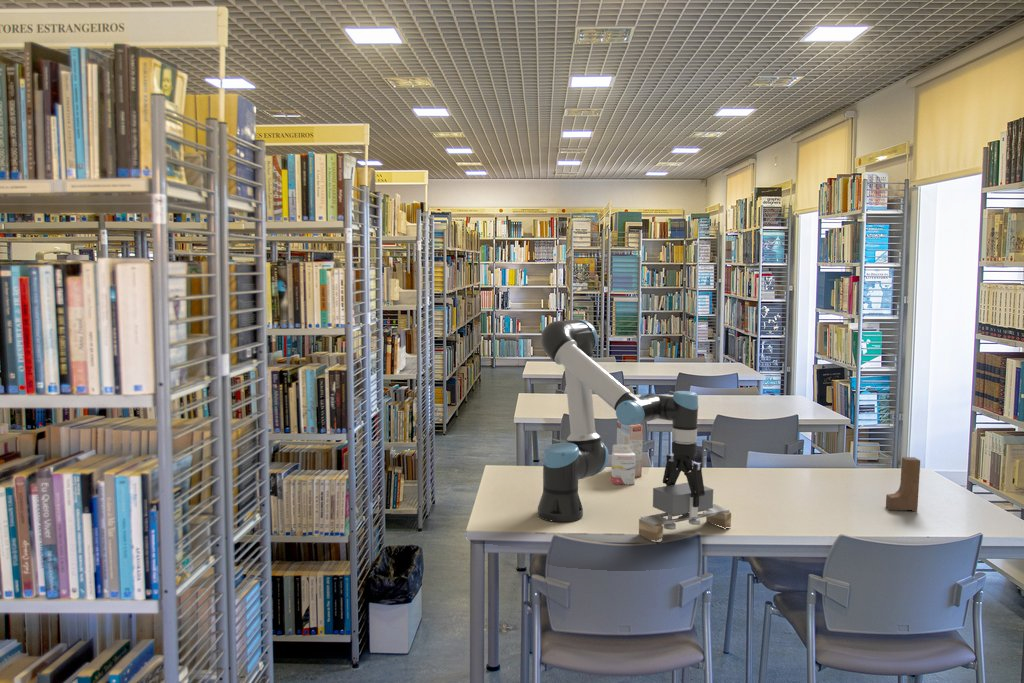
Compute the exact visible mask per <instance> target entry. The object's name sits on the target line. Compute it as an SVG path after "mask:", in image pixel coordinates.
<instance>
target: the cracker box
mask: <svg viewBox="0 0 1024 683" xmlns="http://www.w3.org/2000/svg"><path fill="white" fill-rule="evenodd" d="M616 424H617V427H616V445H619V444H620V445H633V453H634V454H635V455H636V461H635V478H640V477H641V478H642V472H643V471H642V469H643V441H644V440H643V439H644V435H643V434H644V425H642V424H641V423H640V424H637V425H630V426H627V425H623V424H621V423H620V422H619V421H618V419H617V422H616ZM619 449H627V448H626V447H620V448H619Z"/></svg>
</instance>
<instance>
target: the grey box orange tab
mask: <svg viewBox="0 0 1024 683" xmlns="http://www.w3.org/2000/svg"><path fill="white" fill-rule="evenodd" d="M675 484H676V485H669V486H666V485H664V486H657V487H653V488H652V508H655V509H657V510H659V511H660V512H662V513H668V516H667V519H668V520H670V519H673V516H672V515H678V514H683V513H689V508H690V496H691V495H692V494H691V491H690V487H689V484H688V482H684V483H683V482H682V483H678V484H677V483H675ZM704 492H705V495H704V496H700V497H699V507H698V511H700V510H705V509H711V508H713V504H714V489H713V488H710V487H708V486H705V485H704ZM695 493H696V491H695ZM688 523H689V524H690V525H695V526H698V525H700V524H701V518H696V519H691V520H688ZM676 525H677V524H676V522H675V523H670V524H665V525H663V529H665V530H671V531H673V530H675V529H676V527H677V526H676Z"/></svg>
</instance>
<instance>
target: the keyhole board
mask: <svg viewBox="0 0 1024 683" xmlns="http://www.w3.org/2000/svg"><path fill="white" fill-rule="evenodd" d="M700 512H702V513H700ZM666 517H668V513H666V512H662V513H656V514H651V515H645V516H640V518H638V535H639V534H640V535H642V536H643V537H642V536H641V537H642V538H644V537H645V539H646V540H648V539H649V541H650V540H655V541H657V540H659V539H661V538H662V537H663V538H664V525H665V524H670V523H675V524H676V523H679V522H684V521H685V522H686V521H689V520H691V519H696V518H699V519H701V518H705V519H706V520H705V521H708V522H710V523H709V524H711V523H713V524H716V525H719V526H722V527H724V528H726V527H731V526H732V525H731V524H732V512H731V511H730V509H729V508H726V507H724V506H721V505H718V504H716V503H713V508H711V509H705V510H700V511H698V516H697V517H692V518H690V517H689V513H683V514H678V515H672V519H670V520H668V518H666ZM673 517H676V518H673ZM708 522H707V523H708ZM713 524H712V525H713ZM640 535H639V536H640Z"/></svg>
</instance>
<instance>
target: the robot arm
mask: <svg viewBox="0 0 1024 683" xmlns="http://www.w3.org/2000/svg"><path fill="white" fill-rule="evenodd" d="M598 341H599V340H598V333H597V330H596V327H595V326H593V324H591V323H590V322H589V321H587V320H583V319H569V320H556V321H555V320H554V321H552V322H550V323H549V324H547V325H546V326H545V327H544V329H543V330H542V331H541V335H540V345H541V348H542V349H543V352H544V353H545V355H546V356H548V357H549V358H550V359H551V360H552V361H553V362H554V363H555V364H556V365H558V366H559V365H562V366H563V367H564V375H565V384H566V385H565V386H566V388H565V389H566V396H567V397H566V398H567V405H568V407H567V408H568V418H569V429H570V431H569V432H570V434H569V435H568V437H567V438H566V441H565V442H556V443H552V444H550V445H548V446H547V447H546V448H544V451H543V458H542V466H543V467H542V468H543V470H542V480H543V481H542V494H541V497H540V499H539V503H538V505H537V513H536V514H537V516H538V517H539V518H540V517H541V518H540V519H542V518H543V520H544V519H547V520H546V521H548V520H552V521H551V522H554V521H562V522H561V523H565V522H564V521H571V522H574V521H575V520H576V521H579V520H581V519H582V518H583V516H584V510H583V505H582V502H581V499H580V496H579V480H583V479H586V478H588V477H593V476H596V475H598V474H599V473H601V472H603V471H604V470H605V468H606V467H607V465H608V464H609V457H610V456H609V454H610V453H609V450H608V447H607V446H606V445H605V443H604V442H603V441H602V440H601V435H600V434H599V433H597V431H596V423H595V413H594V403H593V402H594V401H593V393H595V394H596V395H597V396H598V397H599V398H601V399H602V401H604V402H605V403H606V404H607V405H608V406H609V407H611V408H612V410H614V411H615V415H616V419H617V420H618V421H619V422H620V423H621V424H623V425H627V426H630V425H637V424H640V425H641V424H642V423H646V422H650V421H655V420H658V419H659V420H666V421H672V431H671V432H672V433H671V440H672V442H671V453H672V454H666V463H665V468H664V472H663V477H662V478H663V479H662V484H664V485H665V486H669V485H676V484H677V481H678V479H679V477H680V474H681V472H683V475H684V476H685V477H686V481H687V483H688V484H689V487H690V491H691V494H692V495H691V496H690V508H689V517H690V518H692V517H697V516H698V514H699V512H698V507H699V497H700V496H704V495H705V492H704V486H705V485H704V478H703V472H702V468H703V463H701V462H696V460H695V456H696V455H697V452H698V451H697V450H698V448H697V447H698V444H697V440H698V415H699V398H698V397H699V395H698V394H697V393H696V392H694V391H692V390H691V391H690V390H689V391H688V390H677V391H674V393H673V396H670V395H662V394H656V393H642V394H640V396H639V397H637V396H636V395H635V394H634V393H632V392H631V391H630V390H629V389H628V388H627V387H625V386H624V385H623V384H622V383H621V382H619V380H617V379H616V378H614V376H612V375H611V374H610V373H609V372H608V371H607V370H605V368H603V367H602V366H601V365H599V364H598V363H597V362H596V361H595V360H593V359H594V354H593V351H594V350H595V348H596V346H597V345H598ZM695 491H696V493H695ZM580 518H581V519H580ZM576 521H575V522H576Z"/></svg>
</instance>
